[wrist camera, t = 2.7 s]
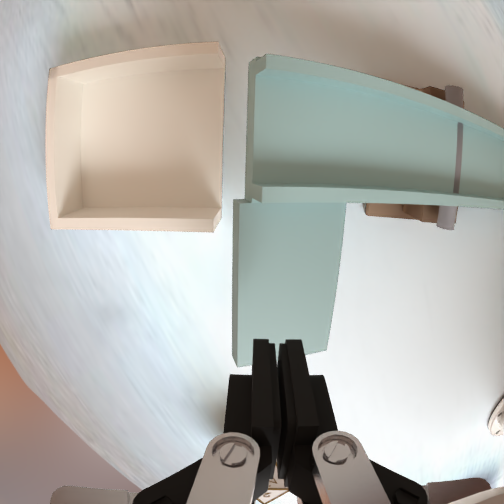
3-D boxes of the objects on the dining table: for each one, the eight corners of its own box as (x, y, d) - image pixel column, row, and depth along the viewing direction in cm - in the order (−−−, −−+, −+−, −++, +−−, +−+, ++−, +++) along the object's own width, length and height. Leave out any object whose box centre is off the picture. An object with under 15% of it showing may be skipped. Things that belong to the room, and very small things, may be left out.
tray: (225, 59, 19) (218, 41, 15) (221, 218, 23) (213, 232, 19) (77, 76, 19) (49, 68, 16) (77, 216, 23) (50, 229, 19)
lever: (522, 129, 19) (552, 134, 16) (499, 288, 24) (525, 302, 21) (237, 32, 11) (265, 0, 8) (231, 354, 16) (252, 399, 13)
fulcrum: (460, 101, 19) (487, 98, 15) (451, 221, 22) (477, 233, 19) (372, 80, 19) (391, 70, 16) (365, 214, 22) (383, 226, 19)
